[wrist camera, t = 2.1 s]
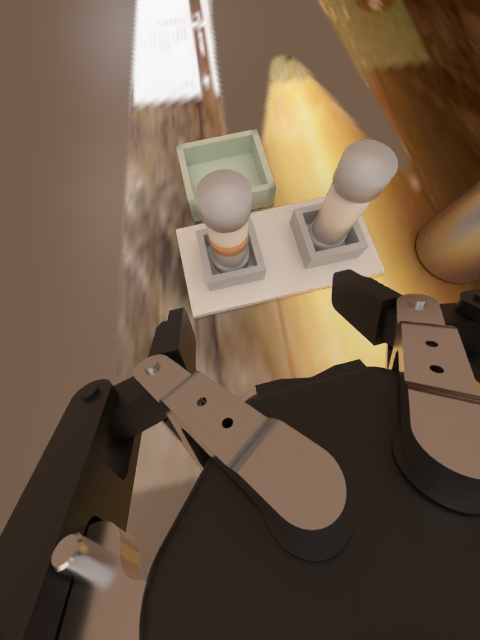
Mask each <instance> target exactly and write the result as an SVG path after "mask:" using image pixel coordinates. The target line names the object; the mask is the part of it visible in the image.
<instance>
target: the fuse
mask: <svg viewBox="0 0 480 640" xmlns="http://www.w3.org/2000/svg"><path fill="white" fill-rule="evenodd" d="M397 169H398V160H397V157H396V155H395V153H394V152H393V151H392V150H391V149H390V148H389V147H388V146H387V145H385V144H383V143H381V142H379V141H375V140H359V141H356V142H354V143H352V144H350V145H349V146H348V147H347V148H346V149H345V151H344V153H343V155H342V157H341V159H340V162H339V164H338V166H337V168H336V170H335V173H334V175H333V182H332V184H331V186H330V189H329V191H328V193H327V195H326V197H325V199H324V201H323V203H322V206H321V208H320V210H319V212H318V214H317V216H316V218H315V219H314V220H313V221H312V223H311V225H310V227H309V230H308V231H309V234H310V237H311V240H312V242H313V245H314V248H315V251H316V252H318V251H322V250H326V249H331V248H335V247H340V246H341V244H342V243H343V242H344V240H345V239H346V237H347V233H348V232H349V231H350V229H351V228H352V227H353V225H354V224H355V223H356V221H357V220H358V219H359V217H360V216H361V215H362V213H363V212H364V211H365V209H366V208H367V207H368V205H369V204H370V203H371V201H372V200H374V199H376V198H377V197H378V196H379V195H380V193H381V192H382V191H383V189H384V188H385V187H386V186H387V184H388V183H389V182H390V180H391V179H392V178H393V176H394V175H395V174H396V172H397Z"/></svg>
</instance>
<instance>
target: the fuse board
mask: <svg viewBox="0 0 480 640" xmlns="http://www.w3.org/2000/svg"><path fill="white" fill-rule="evenodd" d="M324 199H325V197H322V198H318V199H313V200H308V201H304V202H299V203H295V204H290V205H286V206H281V207H276V208H272V209H267V210H263V211H258V212H253V213H251V215H250V218H249V221H248V227H249V235H248V248H249V263H248V266H247V268H243V269H239V270H234V271H230V272H225V273H221V274H220V273H219V272H218V271H217V270H216V268H215V266H214V263H213V259H212V255H211V251H212V248H211V246H210V242H209V239H208V235H207V229H206V225H205V223H203V224H198V225H194V226H189V227H185V228H180V229H176V233H177V239H178V244H179V249H180V254H181V259H182V264H183V269H184V274H185V279H186V284H187V289H188V294H189V299H190V304H191V309H192V314H193V317H194V318H200V317H204V316H208V315H212V314H217V313H221V312H225V311H229V310H234V309H238V308H242V307H246V306H251V305H255V304H259V303H263V302H268V301H272V300H276V299H281V298H285V297H289V296H293V295H298V294H302V293H306V292H310V291H315V290H319V289H323V288H327V287H332V281H333V274H334V273H335V272H338V271H343V270H347V269H351V270H353V271H355V272H356V273H358V274H360V275H362V276H365V277H369V278H370V277H374V276H378V275H381V274H383V273H384V272H385V269H384V267H383V264H382V262H381V260H380V257H379V255H378V253H377V250H376V248H375V245H374V243H373V241H372V238H371V236H370V233H369V231H368V229H367V226H366V224H365V221H364V219H363V217H362V215H361V216H360V217H359V219H358V220H357V221H356V223H355V224H354V225H353V227H352V228H351V229H350V231H349V232H348V233H347V237H346V239H345V240H344V242H343V243H342V244H341V246H340V247H335V248H331V249H326V250H322V251H318V252H316V251H315V248H314V245H313V242H312V240H311V237H310V234H309V231H308V230H309V227H310V225H311V223H312V221H313V220H314V219H315V218H316V216H317V214H318V212H319V210H320V208H321V206H322V203H323V201H324Z"/></svg>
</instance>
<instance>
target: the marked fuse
mask: <svg viewBox="0 0 480 640" xmlns="http://www.w3.org/2000/svg"><path fill="white" fill-rule="evenodd" d="M196 200H197V203H198V207H199V211H200V215H201V218H202V220H203V222H204V223H205V225H206V229H207V235H208V239H209V242H210V246H211V248H212V251H211V255H212V259H213V263H214V266H215V268H216V270H217V271H218V272H219V273H220V274H221V273H225V272H230V271H234V270H239V269H243V268H247V266H248V263H249V248H248V235H249V227H248V221H249V218H250V215H251V204H252V188H251V185H250V183H249V181H248V180H247V178H246V177H245V176H243V175H242V174H240V173H239V172H236V171H233V170H228V169H221V170H216V171H213V172H211V173H209V174H207V175H206V176H204V177H203V178H202V179H201V180H200V182H199V183H198V185H197V188H196Z"/></svg>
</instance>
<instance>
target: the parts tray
mask: <svg viewBox="0 0 480 640" xmlns="http://www.w3.org/2000/svg"><path fill="white" fill-rule="evenodd" d="M176 149H177V153H178V158H179V162H180V167H181V171H182V176H183V180H184V185H185V190H186V194H187V199H188V203H189V207H190V210H191V213H192V216H193V220H194V222H199V221H203V220H202V218H201V215H200V211H199V207H198V203H197V200H196V188H197V185H198V183H199V182H200V180H201V179H202V178H203V177H204V176H206V175H207V174H209V173H211V172H213V171H216V170H221V169H228V170H233V171H236V172H239V173H240V174H242V175H243V176H245V177H246V178H247V180H248V181H249V183H250V185H251V188H252V204H251V210H254V209H258V208H263V207H268V206H272V205H273V201H274V196H275V190H276V186H275V183H274V180H273V177H272V174H271V171H270V168H269V165H268V162H267V159H266V156H265V153H264V150H263V147H262V144H261V140H260V137H259V134H258V131H257V129H254V130H249V131H244V132H239V133H234V134H229V135H224V136H219V137H214V138H209V139H204V140H199V141H194V142H190V143H185V144H180V145H176Z"/></svg>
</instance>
